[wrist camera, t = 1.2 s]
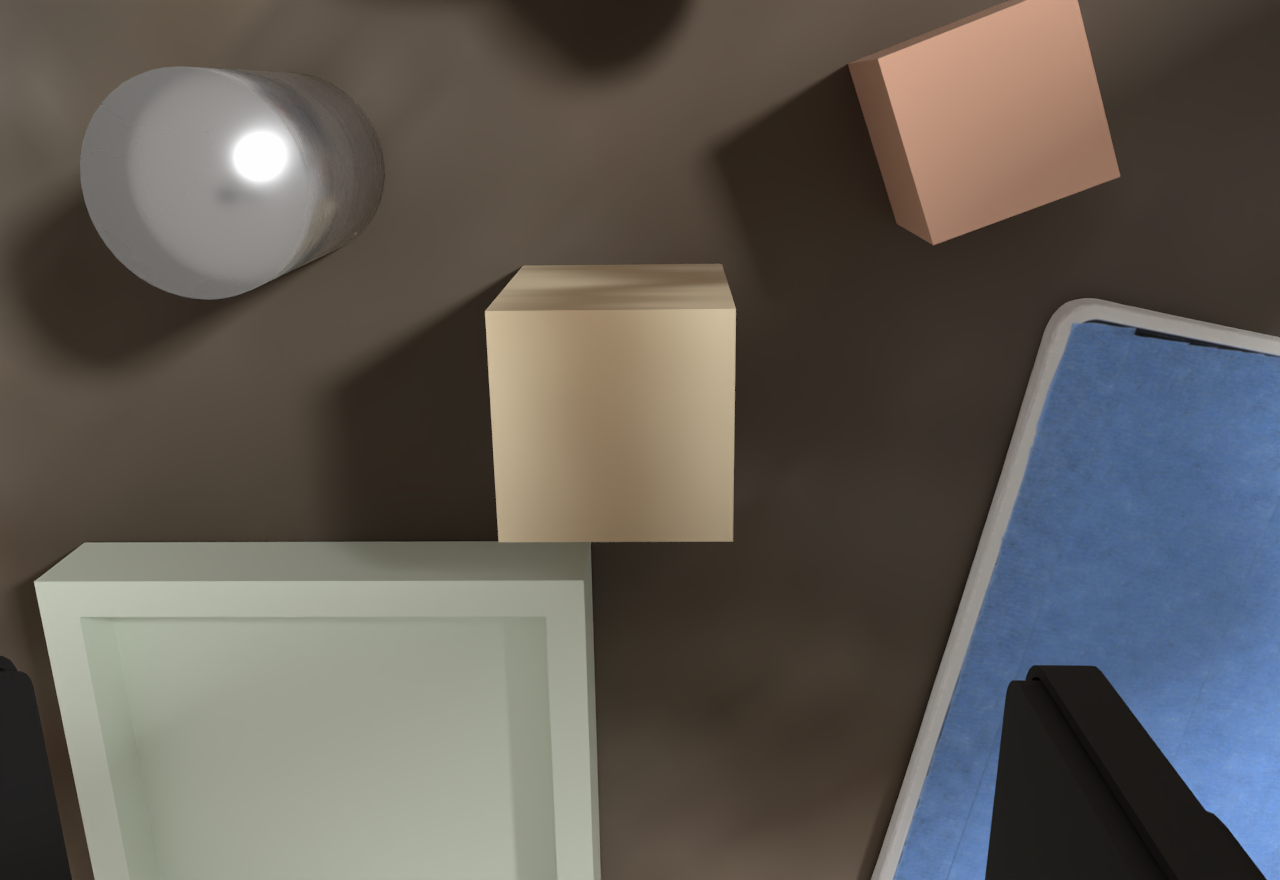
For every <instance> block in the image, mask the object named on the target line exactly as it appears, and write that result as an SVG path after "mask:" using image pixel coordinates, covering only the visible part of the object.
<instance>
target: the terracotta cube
mask: <svg viewBox="0 0 1280 880" xmlns="http://www.w3.org/2000/svg"><path fill="white" fill-rule="evenodd" d="M848 66H849V70H850V73H851V76H852V79H853V83H854V86H855V89H856V92H857V96H858V99H859V102H860V105H861V109H862V112H863V115H864V118H865V122H866V125H867V128H868V132H869V135H870V138H871V141H872V145H873V148H874V151H875V154H876V158H877V161H878V164H879V167H880V171H881V174H882V177H883V180H884V184H885V187H886V190H887V193H888V197H889V200H890V203H891V207H892V210H893V213H894V216H895V220H896V223H897V224H898V225H900V226H901V227H903V228H905V229H906V230H908V231H910V232H912V233H913V234H915V235H917V236H918V237H920V238H922V239H924V240H925V241H927V242H929V243H930V244H932V245H936V244H938V243H941V242H944V241H947V240H949V239H952V238H955V237H957V236H960V235H963V234H966V233H968V232H971V231H974V230H977V229H979V228H982V227H985V226H987V225H990V224H993V223H996V222H998V221H1001V220H1004V219H1007V218H1009V217H1012V216H1015V215H1017V214H1020V213H1023V212H1026V211H1028V210H1031V209H1034V208H1037V207H1039V206H1042V205H1045V204H1047V203H1050V202H1053V201H1056V200H1058V199H1061V198H1064V197H1067V196H1069V195H1072V194H1075V193H1077V192H1080V191H1083V190H1086V189H1088V188H1091V187H1094V186H1097V185H1099V184H1102V183H1105V182H1107V181H1110V180H1113V179H1116V178H1118V177H1120V172H1119V168H1118V164H1117V160H1116V156H1115V152H1114V148H1113V144H1112V140H1111V135H1110V131H1109V127H1108V123H1107V119H1106V115H1105V111H1104V107H1103V103H1102V98H1101V94H1100V90H1099V86H1098V82H1097V78H1096V74H1095V70H1094V66H1093V61H1092V57H1091V53H1090V49H1089V45H1088V41H1087V37H1086V33H1085V29H1084V24H1083V20H1082V16H1081V12H1080V8H1079V4H1078V0H1008V1H1006V2H1003V3H1001V4H998V5H995V6H993V7H990V8H988V9H985V10H983V11H980V12H978V13H975V14H973V15H970V16H968V17H965V18H963V19H960V20H957V21H955V22H952V23H950V24H947V25H945V26H942V27H940V28H937V29H935V30H932V31H930V32H927V33H924V34H922V35H919V36H917V37H914V38H912V39H909V40H907V41H904V42H902V43H899V44H897V45H894V46H892V47H889V48H886V49H884V50H881V51H879V52H876V53H874V54H871V55H869V56H866V57H864V58H861V59H859V60H856V61H853V62H851V63H848Z"/></svg>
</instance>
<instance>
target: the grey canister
mask: <svg viewBox="0 0 1280 880" xmlns="http://www.w3.org/2000/svg"><path fill="white" fill-rule="evenodd" d="M80 177H81V187H82V192H83V196H84V200H85V204H86V207H87V210H88V212H89V215H90V218H91V220H92V222H93V224H94V226H95V228H96V230H97V232H98V233H99V235H100V237H101V238H102V240H103V241H104V243H105V244H106V246H107V247H108V248H109V249H110V250H111V252H112V253H113V254H114V255H115V257H116V258H117V259H118V260H119V261H120V262H122V263H123V264H124V265H125V266H126V267H127V268H128V269H129V270H130V271H132V272H133V273H134V274H136V275H137V276H138V277H140V278H141V279H143V280H145V281H146V282H148V283H150V284H151V285H153V286H155V287H157V288H160V289H162V290H164V291H166V292H169V293H172V294H176V295H179V296H183V297H188V298H194V299H222V298H228V297H232V296H237V295H240V294H242V293H245V292H248V291H250V290H252V289H255V288H257V287H259V286H261V285H263V284H265V283H267V282H269V281H271V280H274V279H276V278H278V277H280V276H282V275H284V274H286V273H288V272H290V271H293V270H295V269H297V268H299V267H301V266H303V265H305V264H307V263H309V262H311V261H314V260H316V259H318V258H320V257H322V256H324V255H326V254H328V253H330V252H333V251H335V250H337V249H339V248H341V247H342V246H344V245H346V244H348V243H349V242H351V241H352V240H353V239H355V238H356V237H357V236H358V235H359V234H360V233H361V232H362V231H363V230H364V229H365V228H366V226H367V225H368V224H369V223H370V221H371V220H372V218H373V216H374V214H375V213H376V211H377V208H378V206H379V203H380V200H381V196H382V192H383V187H384V178H385V174H384V160H383V153H382V149H381V146H380V142H379V139H378V137H377V135H376V132H375V130H374V128H373V126H372V124H371V123H370V121H369V119H368V118H367V116H366V115H365V113H364V112H363V111H362V109H361V108H360V107H359V106H358V105H357V104H356V103H355V102H354V101H353V100H352V99H351V98H350V97H349V96H348V95H347V94H345V93H344V92H343V91H342V90H340V89H339V88H337V87H335V86H334V85H332V84H330V83H328V82H326V81H324V80H322V79H320V78H317V77H314V76H311V75H307V74H301V73H293V72H275V71H255V70H236V69H217V68H197V67H178V66H177V67H165V68H159V69H155V70H150V71H147V72H144V73H142V74H139V75H137V76H134V77H133V78H131V79H129V80H128V81H126V82H124V83H122V84H121V85H120V86H119V87H117V88H116V89H115V90H114V91H112V92H111V93H110V94H109V95H108V96H107V98H106V99H105V100H104V101H103V102H102V103H101V104H100V106H99V107H98V109H97V111H96V112H95V114H94V115H93V117H92V119H91V121H90V123H89V126H88V128H87V130H86V134H85V137H84V140H83V144H82V151H81V157H80Z"/></svg>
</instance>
